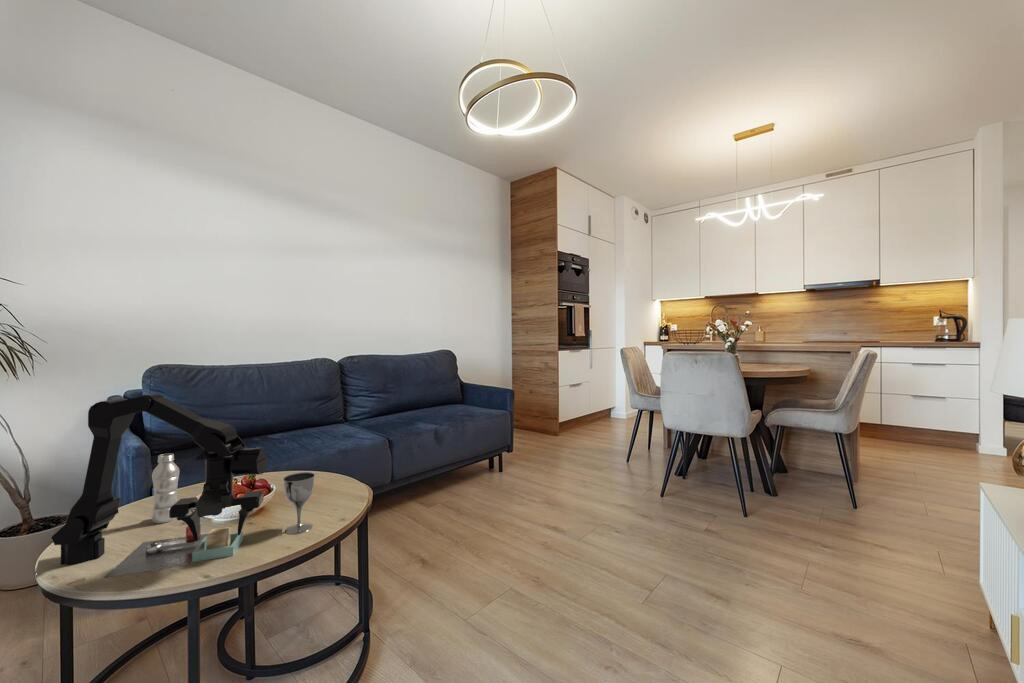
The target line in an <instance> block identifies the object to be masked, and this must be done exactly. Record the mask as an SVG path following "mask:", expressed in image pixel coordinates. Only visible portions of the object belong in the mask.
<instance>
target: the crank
mask: <svg viewBox="0 0 1024 683" xmlns="http://www.w3.org/2000/svg"><path fill="white" fill-rule="evenodd" d="M201 526H202V525H201V524H200V537H199V540H200V538H201V535H202V534H201V531H202V530H201ZM185 537H186V540H180V541H173V542H166V543H161V542H153V543H151V544H150V545H148V546H146V554H154V553H157V552H160V551H161V550H162V549H168V548H175V547H181V546H188V545H194V544H195V543H196V540H195V538H194V536H193V534H192V532H191V530H190V528H189V526H188V525H186V527H185Z"/></svg>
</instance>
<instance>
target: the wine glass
mask: <svg viewBox="0 0 1024 683" xmlns="http://www.w3.org/2000/svg"><path fill="white" fill-rule="evenodd" d="M282 481H283V492H284V497H285V499H286V500H287V501H288V502H289V503H290V504H292V505H293V507H294V508H295V510H296V518H297V523H296V524H292V525H290V526H288V527H286V528H285V530H284V533H285V535H301V534H303V533H306V532H308V531H310V530H312V529H313V524H312V523H309V522H302V523H301V516H302V515H301V514H302V509H303V506H304V505H305V504H306V502H308V501H309V499H310V497H311V496H312V495H313V492H314V486H315V473H313V472H309V471H307V472H305V471H303V472H295V473H291V474H288V475H286V476H285V477H283V480H282Z"/></svg>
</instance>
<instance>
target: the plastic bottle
mask: <svg viewBox="0 0 1024 683" xmlns="http://www.w3.org/2000/svg"><path fill="white" fill-rule="evenodd" d="M174 461H175V454H174V453H170V452H169V453H168V452H167V453H163V454H159V455H158V456H157V463H158V464H157V466H156V467H155V468H154V469H153V471H152V473H151V478H152V479H151V480H152V487H153V504H152V509H151V510H152V511H151V515H150V519H151V522H153V523H154V524H156V525H157V524H158V525H159V524H165V523H169V522H172V521H174V520H177V518H169V511H170V508H171V507H172V506H173V505H174V504H175V503H176V502H178V501H179V500H178V486H179V485H178V484H179V483H178V482H179V478H180V468H179V467H178V465H177V464H176V463H175V462H174Z"/></svg>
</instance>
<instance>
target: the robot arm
mask: <svg viewBox="0 0 1024 683" xmlns="http://www.w3.org/2000/svg"><path fill="white" fill-rule="evenodd" d="M142 412H145V413H146V414H149V415H151V416H153V417H155V418H157V419H159V420H161V421H163V422H164V423H167V424H168V425H170V426H173V427H175V429H178V430H180V431H182V432H183V433H186V434H188V435H189V436H190V437H192V440H193V441H194V443H195V444H196V445H198V446H199V447H201V449H203V450H202V451H201V453H199V454H198V455H197V456H195V460H196V461H205V462H204V463H205V465H204V466H205V467H204V470H205V471H204V472H205V473H204V476H205V477H204V478H205V480H204V484H203V489H202V492H201V495H200V496H199V498H198V497H195V496H194V497H186V498H180V499H179V500H178V502H176V503H175V504H174V505H173V506H172V507H171V508H170V511H169V518H176V520H177V521H182V522H184V523H186V526H189V528H190V530H191V532H192V534H193V536H194V538H195V540H196V541H198V540H199V537H200V525H201V518H204V517H209V516H213V517H214V516H216V517H217V516H218V515H220V514H221V513H222V511H223V509H226V508H231V507H233V506H240V509H239V511H238V523H237V524H238V525H237V532H238V535H240V534H241V532H243V529H244V527H245V522H246V521H247V518H248V516H249V514H250V512H253V511H254V510H255V509H257V508H259V507H260V506H261V505H262V503H263V501H265V500H264V499H265V498H264V497H265V496H264V492H263V490H253V491H246V492H245V493H244V495H243V496H238V497H234V494H235V493H234V490H233V489H234V486H233V485H234V479H235V476H257V475H258V476H260V475H263V474H264V473H265V471H266V470H267V466H268V457H267V454H266V452H265V451H264V447H263V446H257V447H248V446H247V445H246V443H245V442H244V441H243V440H242V438H241V437H240V436H239V435H238V432H237V429H236V428H235V426H233V425H231V424H229V423H225V422H222V421H220V420H218V421H217V420H213V419H208V418H205V417H202V416H201V415H198V414H196V413H195V412H193V411H191V410H188V409H187V408H185V407H183V406H181V405H180V404H177V403H175V402H173V401H171V400H170V399H167V398H166V397H164V395H162V394H160V393H155V392H154V393H148V394H142V395H140V396H137V397H134V398H130V399H129V398H127V397H126V398H125V397H121V398H114V399H109V400H108V399H107V400H102V401H98V402H95V403H94V404H93V405H91V406H90V407H89V409H88V412H87V426H88V429H89V430H90V432H91V434H92V435H93V439H92V445H91V449H90V455H89V459H88V464H87V469H86V474H85V477H84V483H83V488H82V493H81V496H80V497H79V498H78V499H77V501H76V502H75V503H74V504H73V506H72V507H71V508H70V510H69V513H68V516H67V518H66V520H65V524H64V525H63V526H62V527H61V528H60V529H59V530H57V531H56V532H55V533H54V534H53V535H51V539H52V542H53V544H54V546H60V565H66V566H74V565H80V564H83V563H86V562H89V561H93V560H94V561H95V560H98V559H99V558H101V557H102V556H103V555H104V554H105V544H106V543H105V537H103V530H106V529H107V528H109V525H110V523H111V521H112V520H114V518H115V515H117V514H119V512H120V511H119V504H120V502H121V498H120V497H114V495H113V493H112V492H111V490H112V485H113V481H114V476H115V475H114V474H115V470H116V466H117V461H118V457H119V456H118V455H119V451H120V444H121V441H122V436H123V434H124V433H125V432H126V430H127V429H128V428H129V427H130V426H131V424H132V422H133V420H134V417H135V415H136V414H138V413H142Z"/></svg>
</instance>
